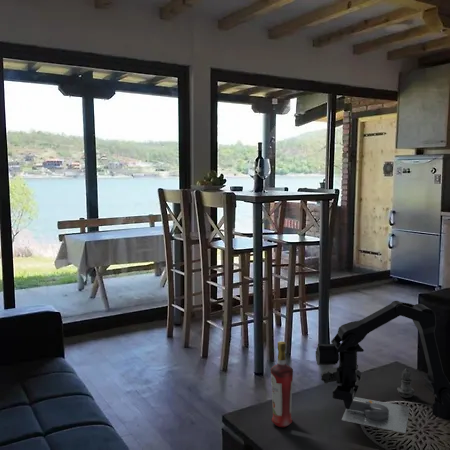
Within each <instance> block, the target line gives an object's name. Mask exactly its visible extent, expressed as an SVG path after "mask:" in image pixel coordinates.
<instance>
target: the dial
mask: <svg viewBox="0 0 450 450" xmlns="http://www.w3.org/2000/svg"><path fill="white" fill-rule="evenodd" d="M349 409H351V410H356V411H361V412H364V415H365V416H366V417H367V418H369V419H371V420H375V421H383V420H386V419H388V417H389V410H388V408H387V407H385V406H383V405H381V404H376V403H371V402H366V401H361V400H355V399H353V401H352V403H351V406H350V408H349Z"/></svg>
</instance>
